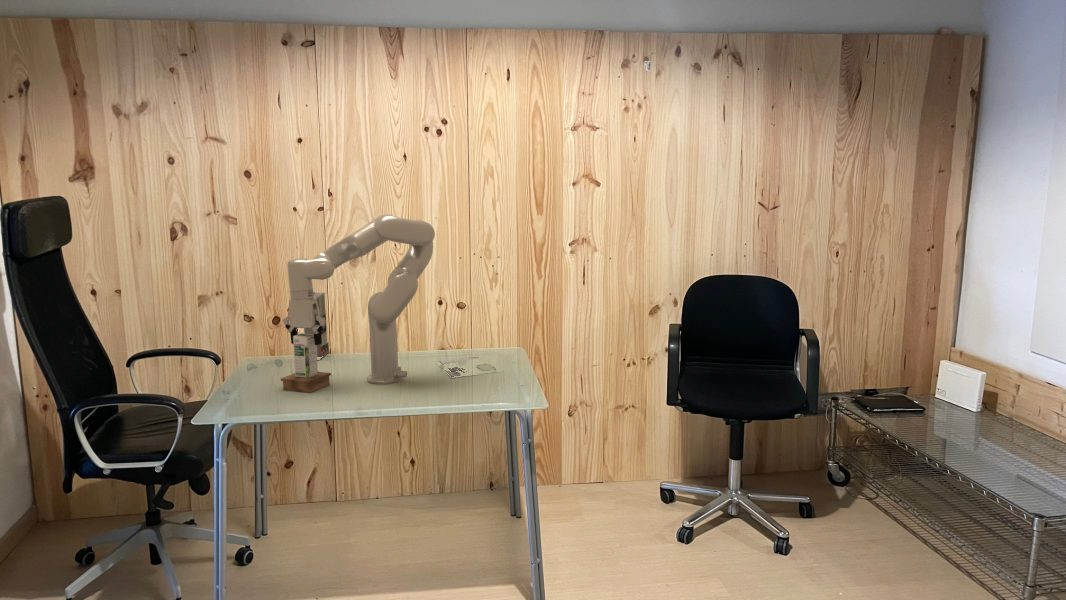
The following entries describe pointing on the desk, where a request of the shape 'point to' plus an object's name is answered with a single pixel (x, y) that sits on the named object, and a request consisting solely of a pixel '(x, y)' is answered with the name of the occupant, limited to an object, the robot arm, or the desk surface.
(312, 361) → the syrup box
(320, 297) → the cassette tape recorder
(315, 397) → the desk surface
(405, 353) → the desk surface
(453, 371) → the office telephone
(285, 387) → the walnut stand
